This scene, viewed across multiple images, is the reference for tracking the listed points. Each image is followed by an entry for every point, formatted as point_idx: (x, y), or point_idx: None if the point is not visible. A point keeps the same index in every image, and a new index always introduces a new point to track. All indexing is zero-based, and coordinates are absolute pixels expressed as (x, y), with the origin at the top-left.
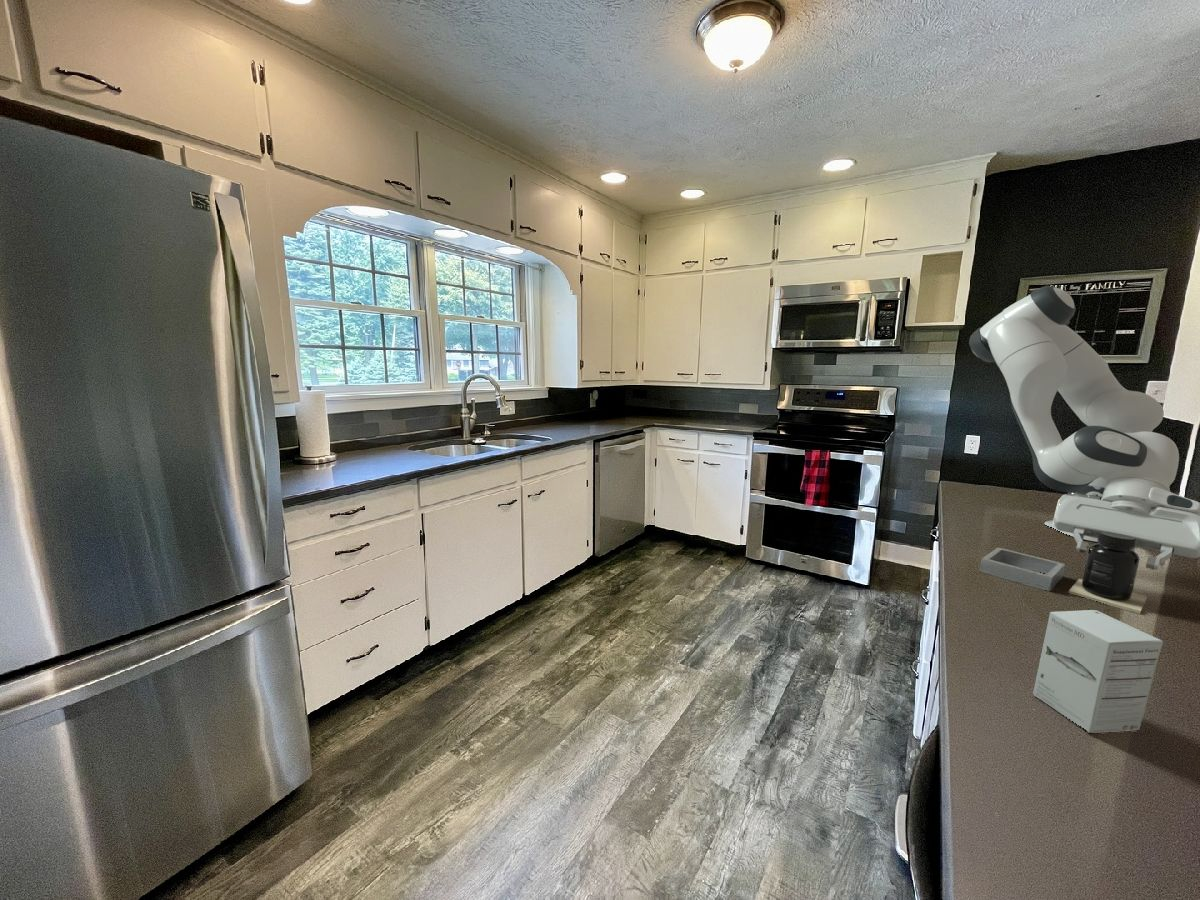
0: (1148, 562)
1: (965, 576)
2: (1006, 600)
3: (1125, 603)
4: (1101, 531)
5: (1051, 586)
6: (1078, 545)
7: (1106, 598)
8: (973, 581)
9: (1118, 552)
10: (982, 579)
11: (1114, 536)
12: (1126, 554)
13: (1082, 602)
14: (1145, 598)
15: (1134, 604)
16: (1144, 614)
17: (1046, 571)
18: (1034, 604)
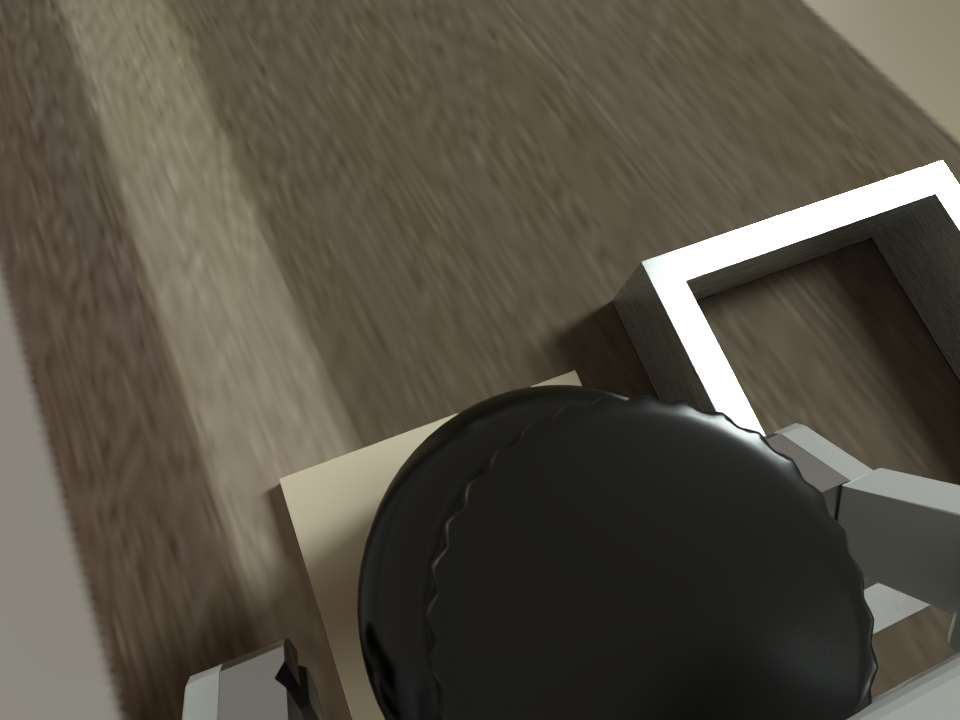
0: (271, 655)
1: (825, 89)
2: (576, 17)
3: (369, 516)
4: (912, 683)
5: (635, 325)
6: (809, 439)
7: None
8: (769, 70)
9: (476, 455)
10: (786, 130)
11: (618, 469)
12: (419, 500)
13: (474, 331)
14: None
15: (342, 556)
16: (272, 507)
17: None
18: (517, 85)
